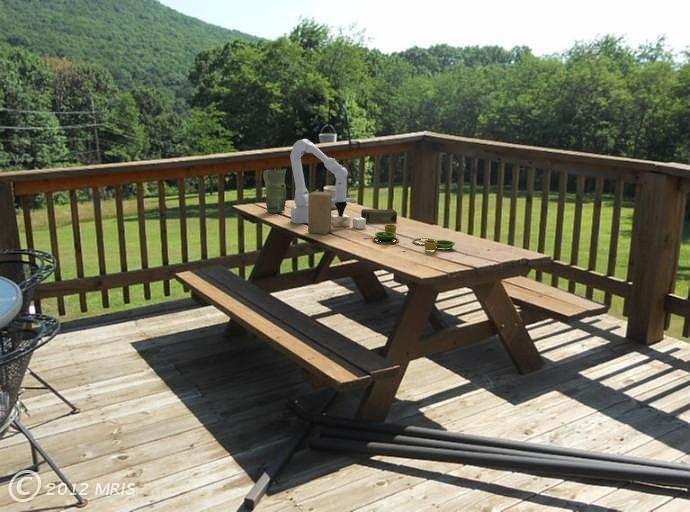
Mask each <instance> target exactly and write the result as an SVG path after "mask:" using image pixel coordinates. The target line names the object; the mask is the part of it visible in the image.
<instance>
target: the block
mask: <svg viewBox="0 0 690 512" xmlns="http://www.w3.org/2000/svg"><path fill="white" fill-rule="evenodd" d="M332 195H333V194H332V192H329V191H317V190H316V191H315V190H314V191H312V192H310V193H309V195H308V223H307V232H308V234H314V233H318V235H327V234H328V233H329V232H331V230H332V224H331V215H332V203H331V199H333V198H332Z"/></svg>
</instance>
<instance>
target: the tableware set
mask: <svg viewBox="0 0 690 512" xmlns="http://www.w3.org/2000/svg"><path fill="white" fill-rule="evenodd" d="M396 232H397V225H395V224H384V231H377V232H375V234H374V235H375V236H374V235H373V236H367V237H364V238H370V239H371V240H372V241H373V242H374V241H375V242H374V243H376V242H378V243H377V244H380V243H385V244H384V245H392V244H391V243H394V244H397V243H398V242H399V241H400V238H397V237H396V236H397V234H396ZM372 237H374V238H372ZM375 239H377V240H378V241H376V240H375ZM421 239H428V240H425V241H424V243H425V244H421V245H420V246H422V245H425V246H424V251H425V250H436V251H437V248H451V249H453V247H454V246H455V245H456V242H454V241H452V240H446V239H445V240H444V239H434V238H427V237H419V238H414V239H412V243H413V244H414V243H415V244H414V245H417V244H419V243H416V242H415V241H417V240H421ZM394 240H396V241H395V242H393V241H394ZM434 240H435V241H434ZM380 241H381V242H380ZM396 242H397V243H396ZM436 247H437V248H436Z"/></svg>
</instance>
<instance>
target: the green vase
mask: <svg viewBox="0 0 690 512" xmlns="http://www.w3.org/2000/svg"><path fill="white" fill-rule="evenodd" d="M286 171H288V169H287V168H282V169H278V170H277V168H274V169H265V170H262V172H263V173H262V178H263V181H264V185H265V196H266V197H265V200H266V201H265V206H266V209H267V210H266V212H267V213H270V214H271V213H272V214H273V213H274V214H277V213H282V212H285V211H286V203H287V202H286V201H287V194H288V193H287V192H288V191H287V189H286V184H285V181H286V180H285V177H286V173H287V172H286Z"/></svg>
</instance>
